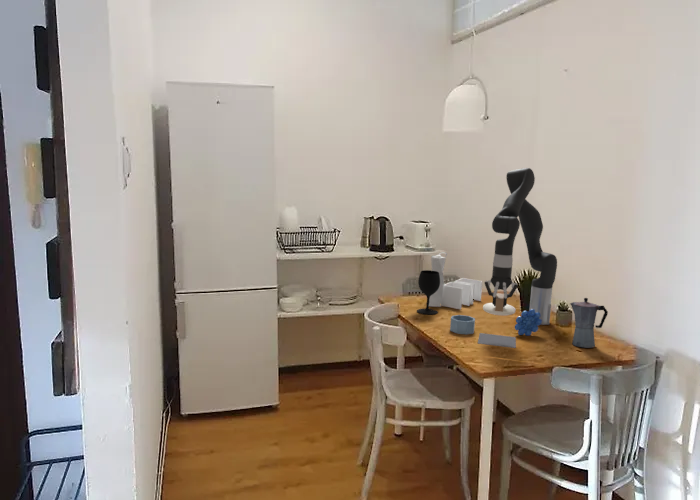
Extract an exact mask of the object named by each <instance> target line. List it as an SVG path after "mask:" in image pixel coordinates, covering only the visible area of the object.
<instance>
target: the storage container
mask: <svg viewBox="0 0 700 500" xmlns="http://www.w3.org/2000/svg"><path fill="white" fill-rule="evenodd" d="M482 291H483V280H478V279H472V278H465V277H461V278H459V279H456V280H454V281H449V282H447V283H444V287H443V294H442V298H441V304H440V305H441V307H447V308H452V309H455V310H462V305H464V306H468V307H469V306H470V305H474V301H479V302H481V301H482V293H483V292H482ZM473 299H474V300H473Z"/></svg>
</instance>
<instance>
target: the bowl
mask: <svg viewBox="0 0 700 500" xmlns="http://www.w3.org/2000/svg"><path fill="white" fill-rule="evenodd" d="M475 324H476V318H475V317H472V316H470V315H463V314H457V315H451V317H450V327H449V330H450V332H452V333H455V334H459V335H473V334H474V332H475Z"/></svg>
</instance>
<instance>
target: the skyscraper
mask: <svg viewBox="0 0 700 500" xmlns="http://www.w3.org/2000/svg"><path fill="white" fill-rule="evenodd" d="M442 254H445V256H442ZM447 256H448V253H447V252H444V251H442V252H439V253H438V254H436V255H431V257H430V258H431V259H430V260H431V271H437V272H439V275H440V286H439V288H438V290H437V291H436V292H435V293H434V294H433V295H431V296H430V298H429V308H430V307H432V308H441V307H442V306H441V298H442V294H443V287H444V284H445V281H444V280H445V278H444V270H445V269H444V267H445V264H446V260H447V259H446V258H447Z"/></svg>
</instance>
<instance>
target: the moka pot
mask: <svg viewBox="0 0 700 500" xmlns="http://www.w3.org/2000/svg"><path fill="white" fill-rule="evenodd" d="M588 300H589V298H587V297H584V298H583V301H578V302H577V301H573V302H571V303H569V305H571V309H572V311H573V314H574V321H575V323H574V326H575V328H574V332H573V336H572V337H573V338H572V345H573V346H575V347H578V348H585V349H586V348H587V349H589V348H594V347H596V343H595V341H596V340H595V331H594V328H596V329H601V328H602V327H603V325H604V323H605V320H606V319H607V316H608V313H609V312H608V310H607V308H606V307H605V305H599V304H597V303H596V304H595V303H593V302H589V301H588ZM598 311H603V312H604V313H603V315H602V318H601V320H600V323H599V325H597V324H596V325H595V323H596V317H597V312H598Z"/></svg>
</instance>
